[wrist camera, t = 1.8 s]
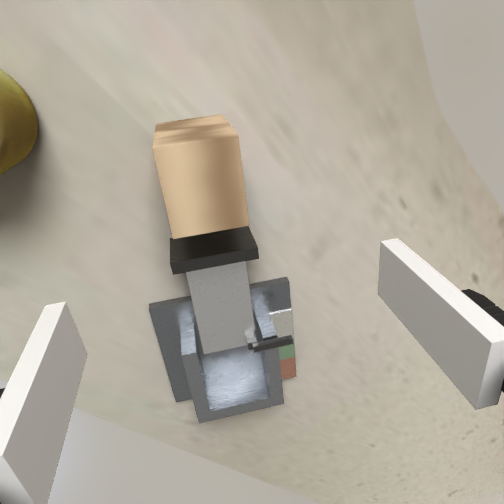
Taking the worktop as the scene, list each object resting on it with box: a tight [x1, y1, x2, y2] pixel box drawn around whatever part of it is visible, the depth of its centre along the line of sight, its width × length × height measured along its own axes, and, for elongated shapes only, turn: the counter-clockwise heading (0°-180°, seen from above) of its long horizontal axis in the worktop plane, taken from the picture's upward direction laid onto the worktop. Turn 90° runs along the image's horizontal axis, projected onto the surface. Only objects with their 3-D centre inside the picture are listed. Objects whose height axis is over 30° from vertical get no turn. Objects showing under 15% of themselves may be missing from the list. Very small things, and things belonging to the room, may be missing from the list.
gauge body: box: [149, 277, 296, 423], centre depth 46 cm, size 16×15×5 cm
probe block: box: [152, 114, 249, 239], centre depth 33 cm, size 6×7×10 cm
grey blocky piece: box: [170, 226, 293, 354], centre depth 41 cm, size 11×13×5 cm
